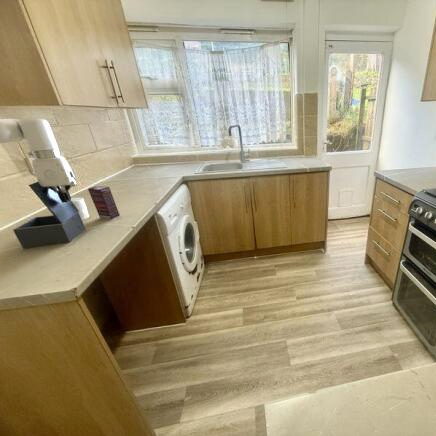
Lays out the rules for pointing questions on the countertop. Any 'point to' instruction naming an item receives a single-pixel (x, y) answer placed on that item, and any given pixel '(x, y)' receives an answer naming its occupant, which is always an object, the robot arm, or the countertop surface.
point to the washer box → (48, 231)
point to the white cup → (80, 207)
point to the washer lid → (54, 203)
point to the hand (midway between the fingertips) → (66, 201)
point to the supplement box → (104, 202)
